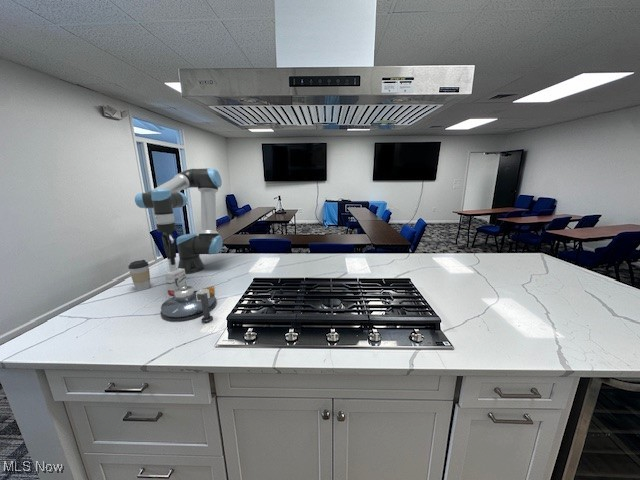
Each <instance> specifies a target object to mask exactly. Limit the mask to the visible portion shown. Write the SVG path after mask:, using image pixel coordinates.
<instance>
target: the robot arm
mask: <svg viewBox="0 0 640 480" xmlns="http://www.w3.org/2000/svg"><path fill="white" fill-rule="evenodd" d="M221 186H222V178H221V175H220V173H219V171H218V170H217V169H216V168H208V167H207V168H188V169H186V170H183V171H181V172H179V173H177V174H175V175H174V176H173V178H172V179H169V180H168V181H166V182H164V183H162V184H161V185H158V186H157V187H154V188H153V189H151V190H149V191H147V192H139V193H137V194H135V196H134V202H135V205H136V206H137V207H138V208H140V209H153V211H154V213H153V214H154V217H153V219H154V220H155V223H156V231H157V232H158V233H162V235H161V240H162V243H163V248H164V252H165V256H166V259H167V262H168V267H169V271H176V270H177V268H181V269H185V275H186V274H193V273H197V272H200V271H203V269H204V268H205V264H204V263H203V260H202V258H201V257H200V255H210V256H211V255H217V254H219V253H220V252H221V250H222V249H223V243H224V242H223V237H222V236H221V235H219V234H220V233H219V232H218V231H217V210H216V209H217V207H216V205H217V203H216V202H217V201H216V200H217V199H216V198H217V197H216V196H217V195H216V194H217V192H219V188H221ZM191 188H196V189H197V190H198V191H199V192H200V215H201V216H200V220H201V221H200V224H201V226H200V229H201V230H200V231H199V232H198V234H197V233H187V234H183V235H180V236H177V238H175V236H174V234H173V233H172V232H174V231H176V230H177V228H176V222H175V214H174V209H177V208H179V209H180V208H182V207H184V206H186V205H187V202H188V198H187V195H185V194H184V193H183V192H181V191H182V190H183V191H184V190H187V189H191ZM176 249H177V251H176ZM177 253H178V258H179V259H178V260H179V261H178V266H177V263H176V262H177V261H176V258H177Z"/></svg>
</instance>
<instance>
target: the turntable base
mask: <svg viewBox="0 0 640 480" xmlns="http://www.w3.org/2000/svg"><path fill="white" fill-rule="evenodd" d="M217 301H218V300H217V298H216V297H215V303H214V305H213V306H212V307H211V308H209V310H210V312H211V311H213V310H214V309H215V308H216V307H217V304H218V302H217ZM160 317H161V319H162V320H164V321H166V322H170V323H171V322H173V323H175V322H177V323H178V322H186V321H187V322H188V321H191V320H195V319H197V318H200V317H204V316H203V312H202V313H200V314H197V315H194V316H190V317H185V318H168V317H165V316H164V315H162V312H161V311H160Z"/></svg>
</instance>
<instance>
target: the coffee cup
mask: <svg viewBox="0 0 640 480" xmlns="http://www.w3.org/2000/svg"><path fill="white" fill-rule="evenodd" d="M149 265H150V263H149V262H147V261H146V259H141V260H135V261H132V262H130V263H129V265H128V270H129V274H130V277H131V280H132V283H133V285H134V288H135V290H136V291H142V290H146V289H149V288H150V287H151V275H150V274H151V273H150V268H149Z"/></svg>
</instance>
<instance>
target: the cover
mask: <svg viewBox="0 0 640 480" xmlns="http://www.w3.org/2000/svg"><path fill="white" fill-rule="evenodd" d="M194 291H195V290H194V287H193V286H190V285H187V286H181V287H180V288H178V289H176V290H175V291H174V294H175V295H174V296H175V300H176V301H177V302H184V301H188V300H191V299H192V298H194V296H195V295H194Z"/></svg>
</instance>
